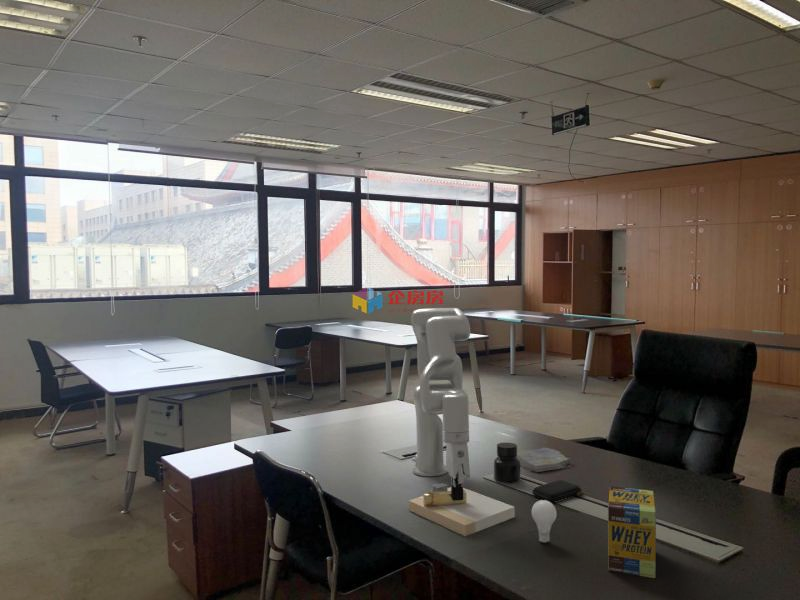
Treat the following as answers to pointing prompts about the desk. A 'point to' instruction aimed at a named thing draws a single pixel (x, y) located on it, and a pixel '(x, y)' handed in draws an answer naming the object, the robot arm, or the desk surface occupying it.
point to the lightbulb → (544, 518)
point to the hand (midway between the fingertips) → (457, 499)
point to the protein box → (631, 531)
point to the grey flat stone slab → (542, 459)
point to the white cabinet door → (464, 512)
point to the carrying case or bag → (556, 491)
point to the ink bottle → (507, 463)
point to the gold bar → (441, 498)
